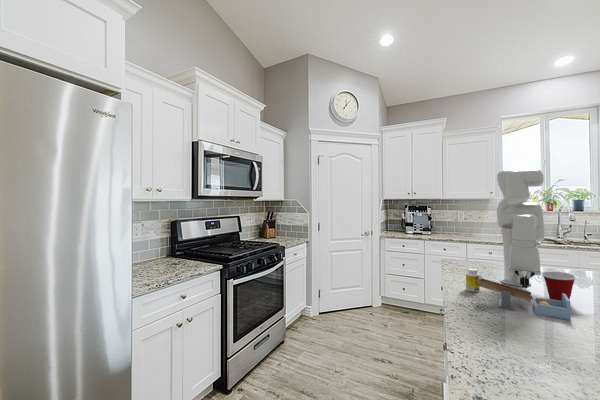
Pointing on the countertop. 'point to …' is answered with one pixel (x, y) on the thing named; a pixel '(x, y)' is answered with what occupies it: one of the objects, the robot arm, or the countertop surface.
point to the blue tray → (553, 308)
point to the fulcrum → (506, 300)
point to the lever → (498, 287)
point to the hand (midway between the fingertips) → (524, 286)
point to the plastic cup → (558, 284)
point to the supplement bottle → (472, 280)
